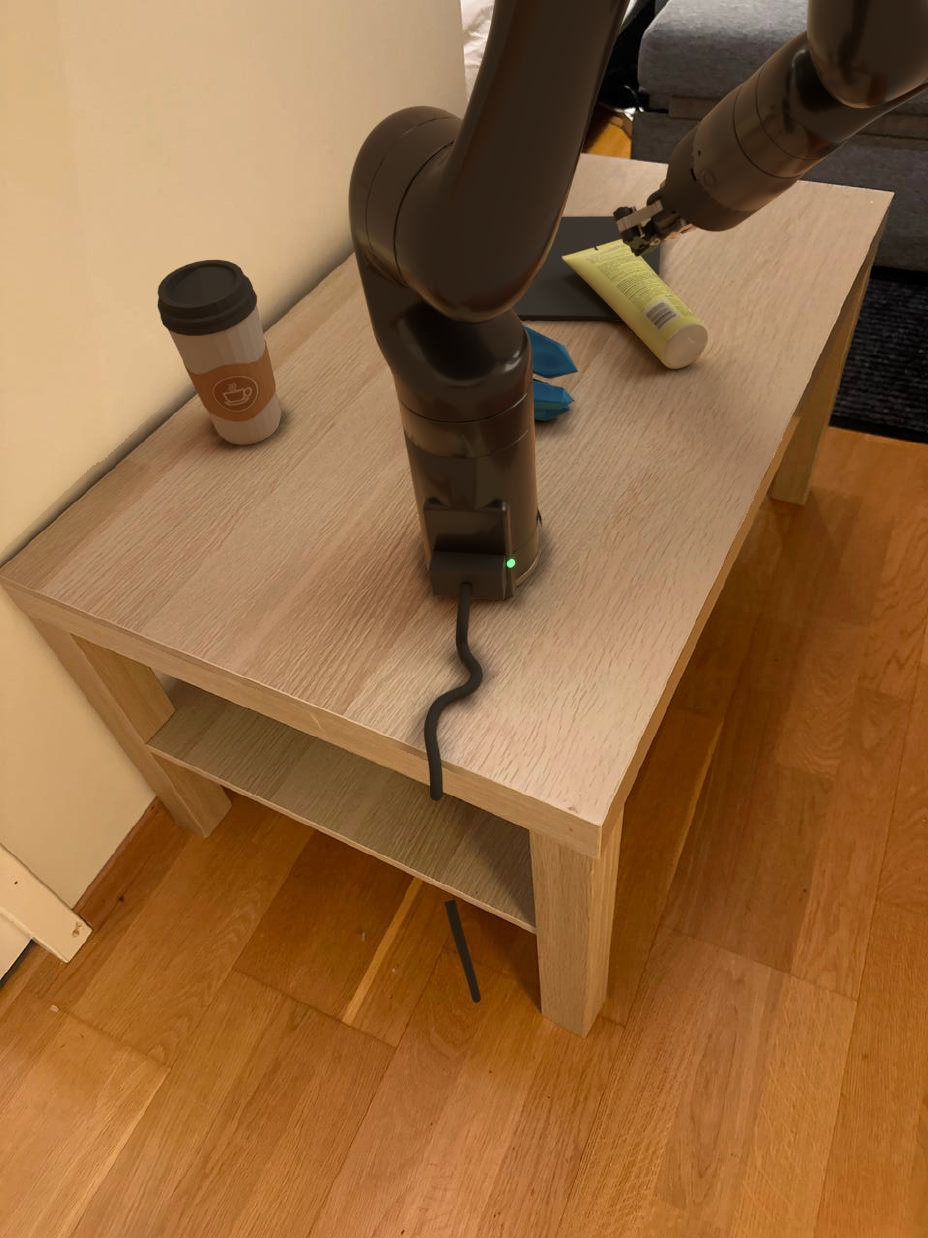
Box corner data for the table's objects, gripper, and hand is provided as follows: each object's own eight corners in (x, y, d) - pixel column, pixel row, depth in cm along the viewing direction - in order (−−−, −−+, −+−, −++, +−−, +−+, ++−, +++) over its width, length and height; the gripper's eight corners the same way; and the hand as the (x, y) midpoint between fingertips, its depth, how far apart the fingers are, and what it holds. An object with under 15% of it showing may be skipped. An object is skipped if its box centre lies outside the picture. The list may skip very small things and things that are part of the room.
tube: (688, 379, 87) (595, 277, 98) (724, 336, 84) (625, 236, 96) (652, 360, 83) (560, 257, 95) (689, 315, 81) (590, 214, 92)
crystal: (573, 383, 75) (446, 329, 77) (552, 455, 82) (437, 403, 84) (605, 334, 79) (483, 283, 81) (582, 406, 86) (471, 358, 88)
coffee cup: (211, 462, 83) (153, 320, 72) (203, 409, 89) (148, 269, 77) (298, 440, 84) (255, 297, 72) (286, 389, 89) (244, 247, 78)
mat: (656, 321, 91) (656, 316, 90) (444, 318, 95) (443, 313, 94) (661, 220, 103) (661, 215, 102) (472, 221, 107) (472, 216, 106)
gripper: (803, 76, 64) (686, 181, 81) (645, 127, 61) (558, 224, 78) (836, 180, 65) (714, 262, 82) (681, 234, 62) (588, 307, 79)
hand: (638, 243), depth 80 cm, fingers closed
